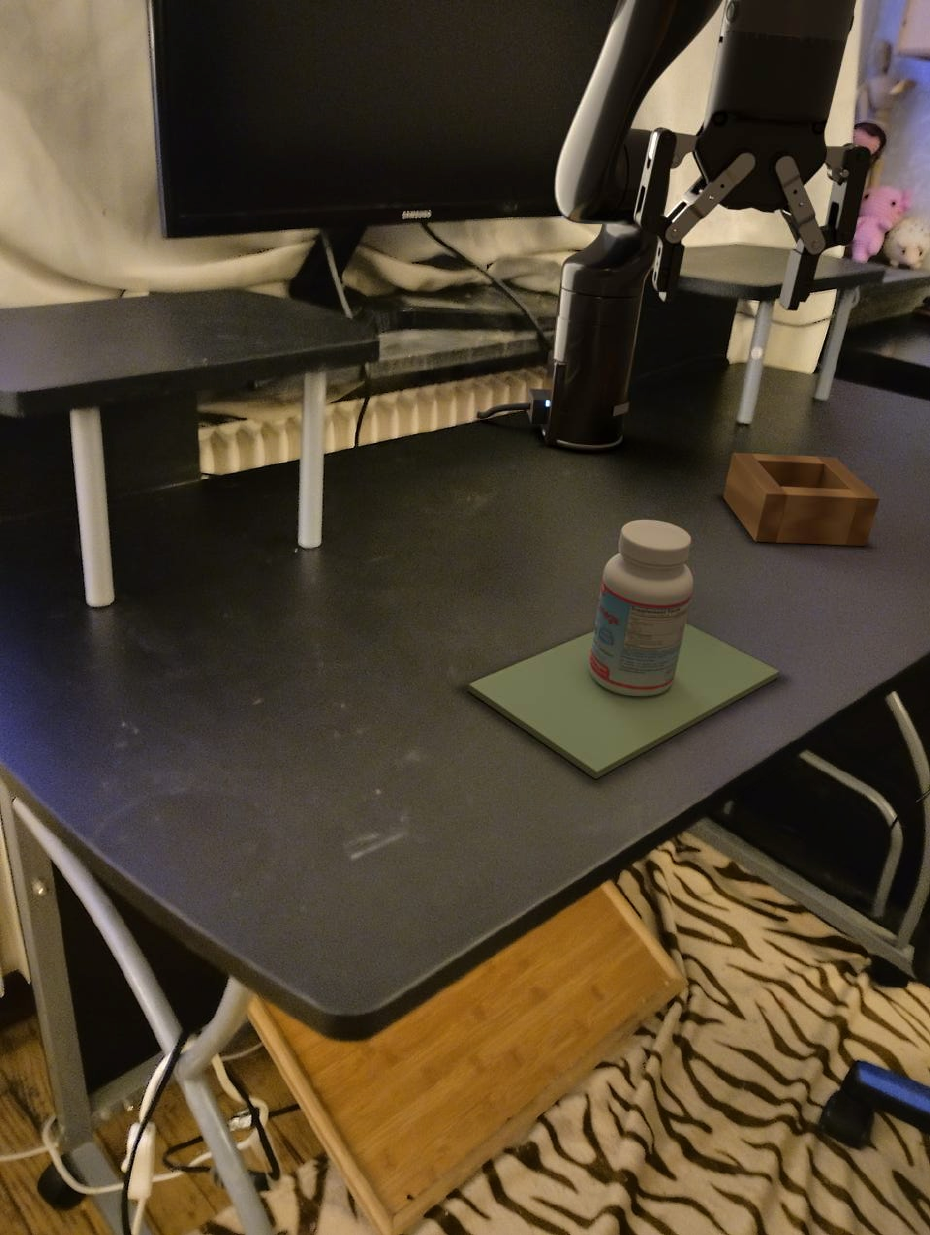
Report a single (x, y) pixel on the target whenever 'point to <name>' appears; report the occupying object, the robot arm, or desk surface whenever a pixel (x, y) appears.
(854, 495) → the stand
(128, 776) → the desk surface
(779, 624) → the desk surface
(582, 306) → the robot arm
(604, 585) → the pill bottle
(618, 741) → the mat
